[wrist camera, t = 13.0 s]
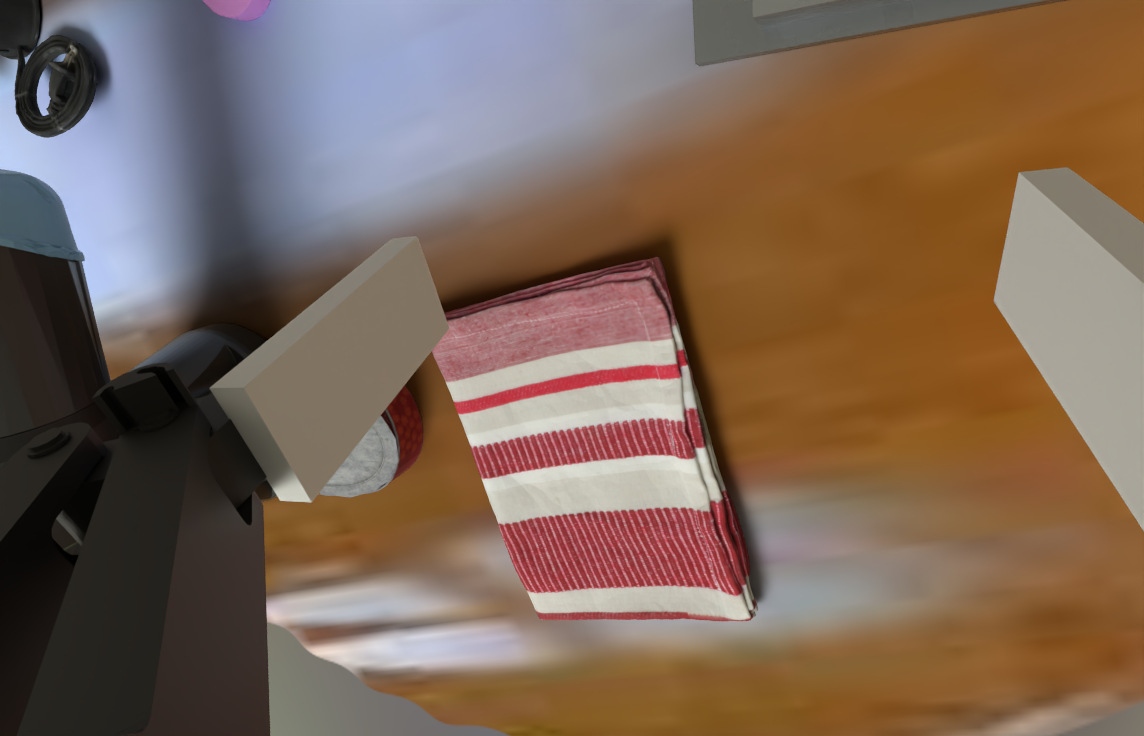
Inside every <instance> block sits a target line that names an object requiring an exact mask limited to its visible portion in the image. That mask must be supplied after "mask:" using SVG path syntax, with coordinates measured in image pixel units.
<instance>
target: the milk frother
mask: <svg viewBox="0 0 1144 736" xmlns="http://www.w3.org/2000/svg"><path fill="white" fill-rule="evenodd" d="M39 23H40V10H39V0H0V55H2V56H4V57H6V58H9V59H18V69H17V75H16V81H15V100H16V114H17V115H18V117H19V119H20V121H21V123H22V125H23V126H24V127H25V128H26V129H27V130H28V131H29V132H31V133H33V134H36V135H38V136H41V137H47V138H48V137H54V136H57V135H59V134H62V133H64V132H66V131H67V130H69V129H71V128H72V127H74V126H75V125H76V124H77V123H78V122H79V121H80V120H81V119H82V118H83V117H84V116H85V114H86V113H87V111H88V110H89V108H90V106H91V104H92V102H93V99H94V95H95V91H96V86H97V85H98V83H97V75H96V68H95V64H94V62H93V59H92V57H91V55H90V53H89V52H88V51H87V50H86V48H85V47H84V46H83V45H81V44H80V43H78V42H76V41H74V40H71V39H69V38H67V37H65V36H62V35H54V36H51V37H50V38H48V39H47V40H46V41H44V42H42V43H41V44H40V45H39V46H38V47H37V48H36V49H35V51H34V52H33V53H32V55H31V56H30V58H29V60H28V62H27V63H26V65H25V59H24V57H26V56H28V55H29V54H30V53H31V52H32V51H33V49H34V47H35V44H36V43H37V39H38V35H39ZM66 53H67V54H66ZM61 54H66V57H65V59H64V61H62V62H53V61H51V60H53V59H54V58H55V57H57V56H59V55H61ZM48 64H49V65H51V66H52V68H53V70H52V72H51V76H50V82H49V96H50V98H51V100H50V104H49V107H48V108H47V111H48V113H49V115H46V116H42V114H41V113H40V110H39V108H38V104H37V95H36V94H37V87H38V83H39V79H40V76H41V74H42V72H43V71H44V69H45V68H46V66H47V65H48Z"/></svg>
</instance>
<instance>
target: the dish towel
mask: <svg viewBox="0 0 1144 736" xmlns="http://www.w3.org/2000/svg"><path fill="white" fill-rule="evenodd" d="M444 314H445V317H446V320H447V323H448V326H449V330H448V331H447V332H446V333H445V335H444V336H443V337H442V338H441V340H440V341H439V342H438V344H437V345H436V346H435V347H434V349H433V350H432V353H433V355H434V357H435V360H436V362H437V364H438V366H439V368H440V370H441V373H442V375H443V377H444V379H445V381H446V384H447V386H448V389H449V391H450V393H451V396H452V399H453V401H454V404H455V406H456V409H457V412H458V414H459V417H460V419H461V421H462V424H463V427H464V429H465V432H466V435H467V438H468V440H469V443H470V447H471V451H472V454H473V457H474V460H475V463H476V466H477V469H478V471H479V474H480V476H481V478H482V480H483V484H484V487H485V489H486V492H487V495H488V498H489V501H490V503H491V506H492V508H493V511H494V513H495V515H496V518H497V522H498V525H499V528H500V532H501V534H502V537H503V539H504V542H505V545H506V547H507V549H508V552H509V555H510V558H511V560H512V562H513V565H514V567H515V570H516V572H517V573H518V575H519V577H520V580H521V581H522V583H523V584H524V586H525V588H526V590H527V592H528V594H529V596H530V598H531V601H532V603H533V605H534V608H535V610H536V612H537V614H538V616H539V618H540V619H541V620H581V619H582V620H586V619H618V620H630V619H637V620H646V619H682V618H684V619H696V620H712V621H749V620H751V619H752V618H753V617H754V616H756V614H755V611H758V606H757V603H756V601H755V599H754V597H753V594H752V591H751V587H750V583H749V575H750V566H749V557H748V552H747V548H746V543H745V539H744V536H743V532H742V529H741V526H740V523H739V519H738V516H737V513H736V510H735V508H734V505H733V503H732V500H731V498H730V495H729V494H728V492H727V490H726V488H725V485H724V482H723V480H722V477H721V474H720V471H719V468H718V464H717V461H716V457H715V454H714V450H713V446H712V442H711V438H710V434H709V431H708V427H707V423H706V420H705V417H704V413H703V409H702V405H701V402H700V398H699V394H698V391H697V388H696V385H695V383H694V380H693V375H692V371H691V368H690V364H689V361H688V357H687V354H686V350H685V347H684V344H683V341H682V337H681V333H680V329H679V325H678V322H677V320H676V317H675V313H674V308H673V305H672V300H671V296H670V293H669V289H668V286H667V283H666V275H665V270H664V267H663V264H662V262H661V259H660V258H659V257H653V258H651V259H646V260H639V261H635V262H631V263H627V264H622V265H617V266H613V267H609V268H605V269H602V270H598V271H593V272H588V273H583V274H579V275H576V276H572V277H568V278H565V279H561V280H558V281H554V282H550V283H546V284H542V285H539V286H535V287H531V288H528V289H525V290H520V291H517V292H514V293H510V294H507V295H504V296H501V297H498V298H495V299H492V300H488V301H485V302H482V303H478V304H474V305H470V306H467V307H464V308H460V309H455V310H452V311H449V312H445V313H444Z"/></svg>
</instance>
